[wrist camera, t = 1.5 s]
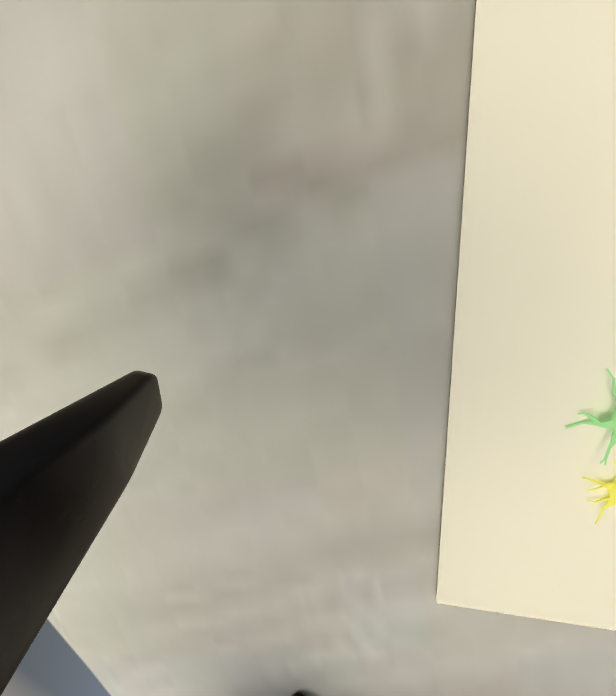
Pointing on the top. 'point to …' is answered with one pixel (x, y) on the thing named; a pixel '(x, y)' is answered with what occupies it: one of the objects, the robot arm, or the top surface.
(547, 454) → the printed paper
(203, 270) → the top surface
